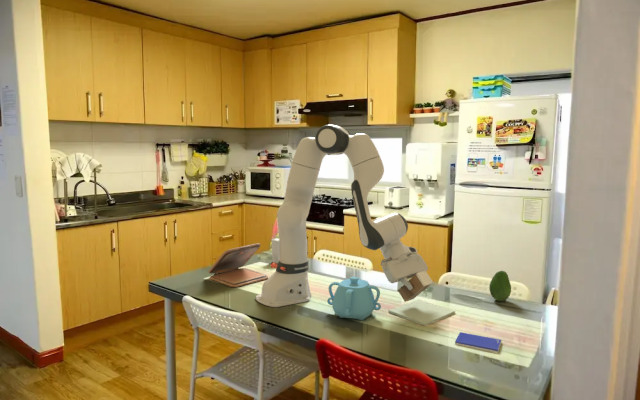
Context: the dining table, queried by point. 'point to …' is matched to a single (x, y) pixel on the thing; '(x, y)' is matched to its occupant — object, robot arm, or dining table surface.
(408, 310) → the sage mat
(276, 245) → the skincare box
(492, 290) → the fruit
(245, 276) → the case
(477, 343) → the hard drive
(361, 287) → the decorative pot
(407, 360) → the dining table surface
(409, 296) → the walnut block
